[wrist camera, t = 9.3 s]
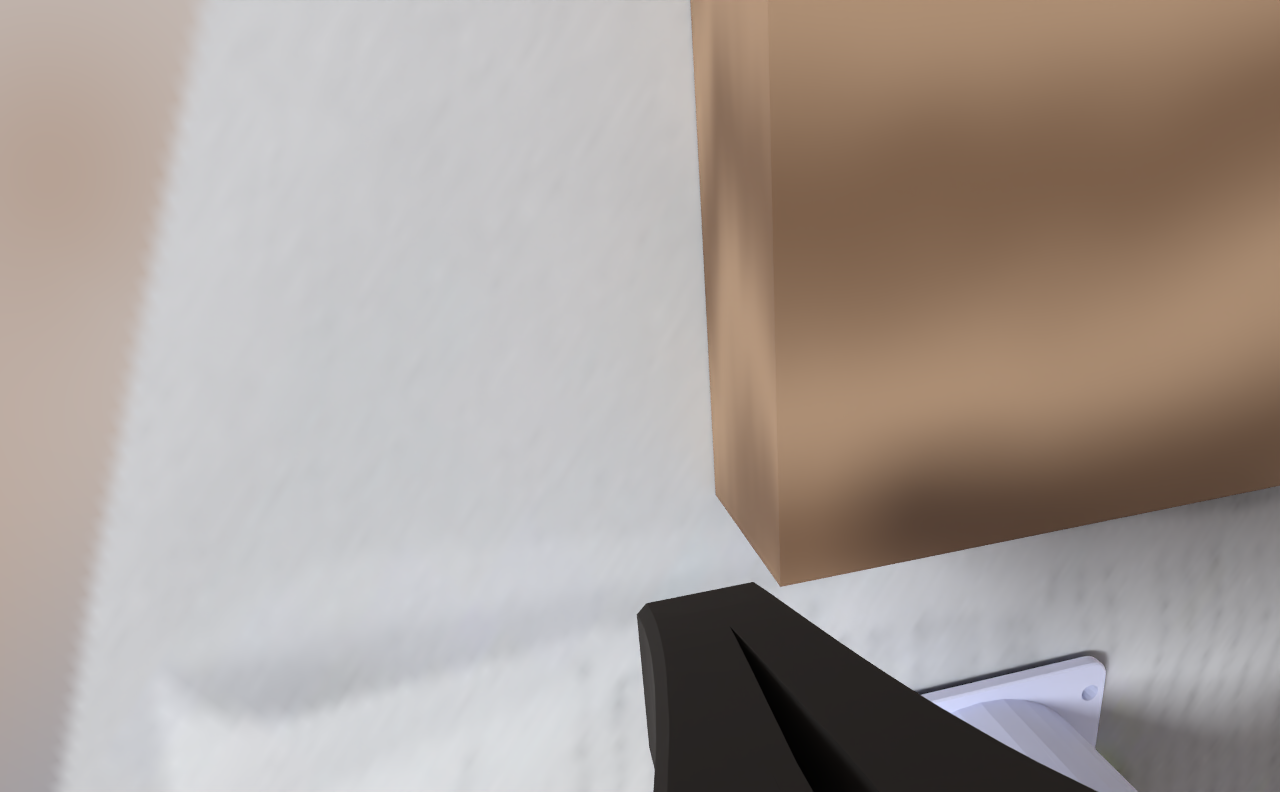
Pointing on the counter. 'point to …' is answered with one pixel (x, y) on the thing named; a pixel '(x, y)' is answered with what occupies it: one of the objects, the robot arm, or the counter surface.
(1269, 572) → the counter surface
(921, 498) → the wooden block
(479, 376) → the counter surface
